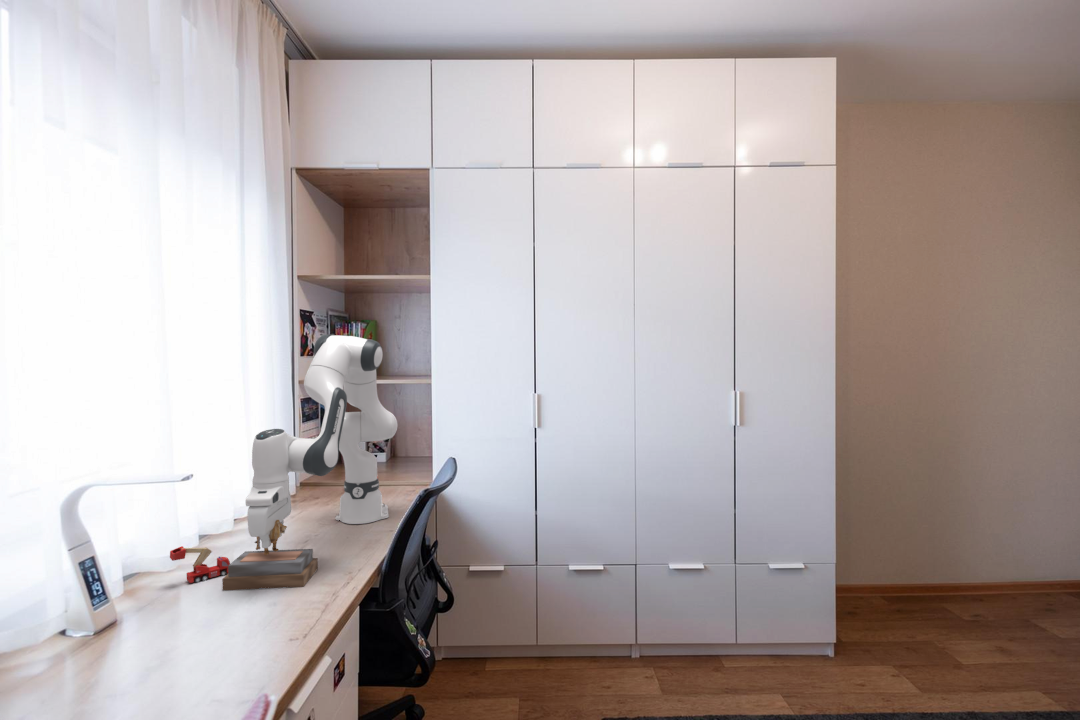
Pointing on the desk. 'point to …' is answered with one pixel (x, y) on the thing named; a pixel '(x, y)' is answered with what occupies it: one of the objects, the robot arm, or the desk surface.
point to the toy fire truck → (201, 569)
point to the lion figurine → (273, 536)
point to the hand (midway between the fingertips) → (272, 542)
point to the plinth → (271, 580)
